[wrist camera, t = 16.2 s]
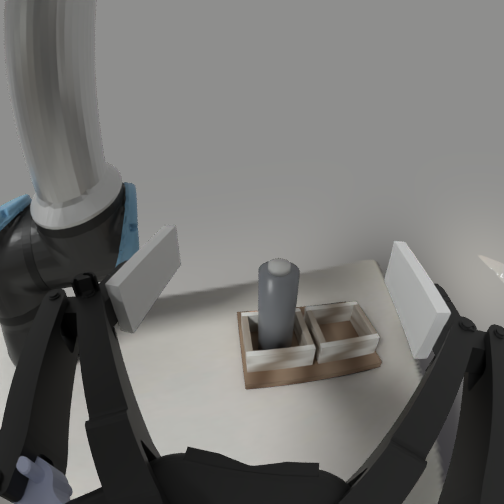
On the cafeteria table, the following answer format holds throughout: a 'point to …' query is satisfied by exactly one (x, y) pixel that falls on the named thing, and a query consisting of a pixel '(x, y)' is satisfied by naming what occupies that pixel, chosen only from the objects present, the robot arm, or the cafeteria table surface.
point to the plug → (277, 303)
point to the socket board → (310, 346)
